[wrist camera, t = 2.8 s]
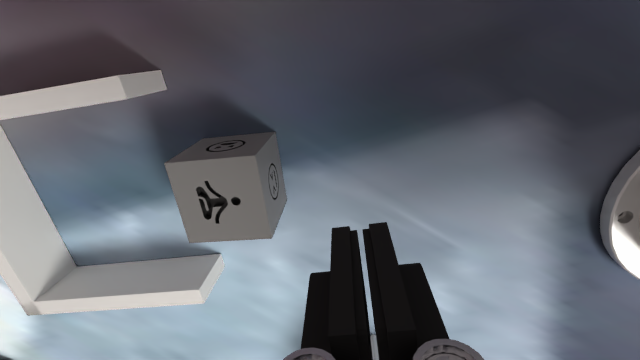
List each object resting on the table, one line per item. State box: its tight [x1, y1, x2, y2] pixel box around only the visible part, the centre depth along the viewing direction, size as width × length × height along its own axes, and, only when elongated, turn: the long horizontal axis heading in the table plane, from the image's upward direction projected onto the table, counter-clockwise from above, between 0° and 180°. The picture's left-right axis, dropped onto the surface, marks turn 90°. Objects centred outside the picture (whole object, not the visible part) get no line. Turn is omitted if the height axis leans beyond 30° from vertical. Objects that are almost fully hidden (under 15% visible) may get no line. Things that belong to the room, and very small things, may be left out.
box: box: [0, 70, 225, 315], centre depth 22 cm, size 14×15×4 cm
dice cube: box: [164, 132, 287, 243], centre depth 20 cm, size 5×5×5 cm
